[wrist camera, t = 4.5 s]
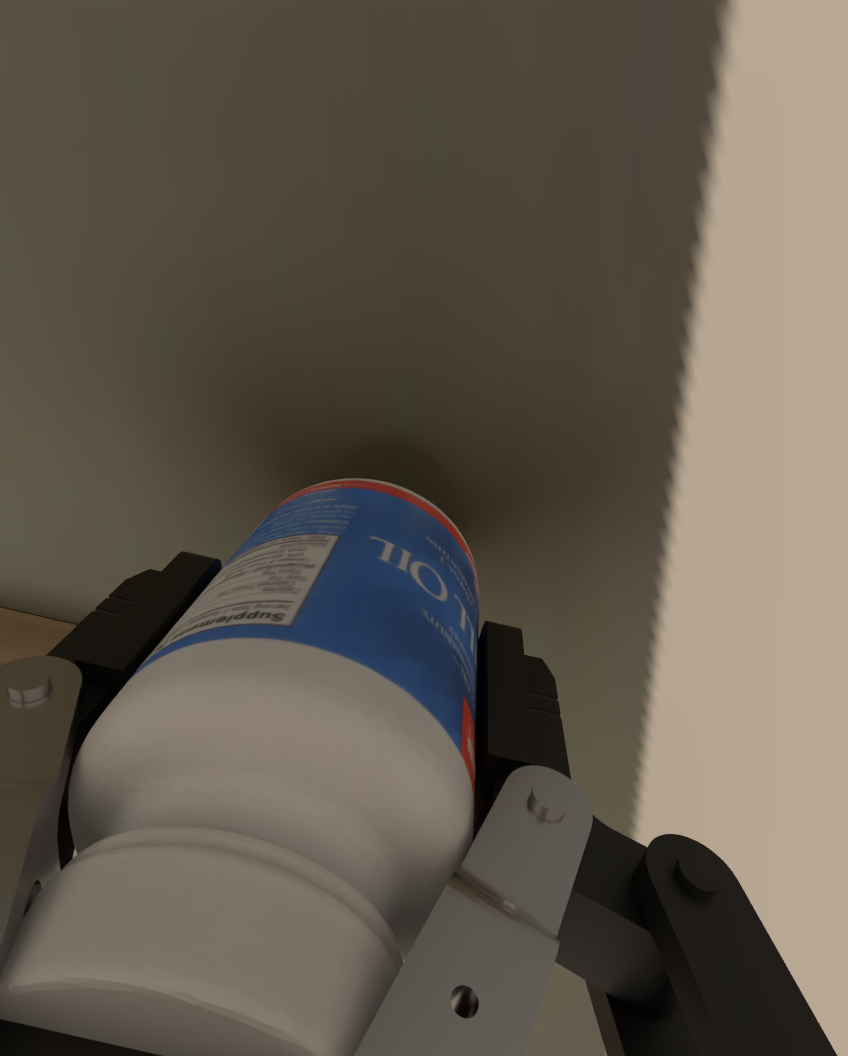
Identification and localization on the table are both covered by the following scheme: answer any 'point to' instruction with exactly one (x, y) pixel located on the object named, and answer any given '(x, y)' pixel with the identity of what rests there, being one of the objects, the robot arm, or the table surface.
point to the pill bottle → (270, 794)
